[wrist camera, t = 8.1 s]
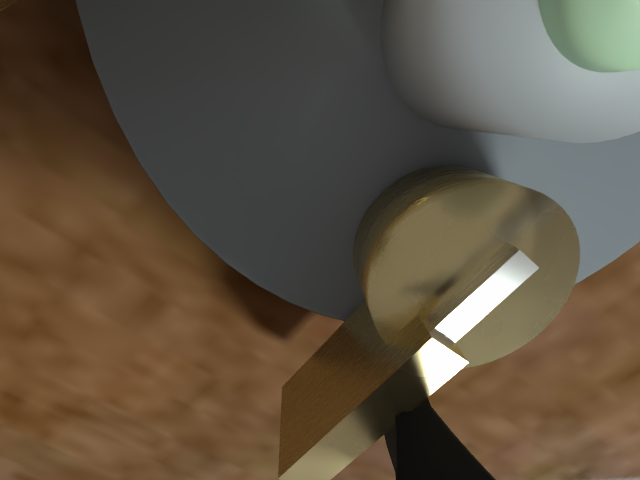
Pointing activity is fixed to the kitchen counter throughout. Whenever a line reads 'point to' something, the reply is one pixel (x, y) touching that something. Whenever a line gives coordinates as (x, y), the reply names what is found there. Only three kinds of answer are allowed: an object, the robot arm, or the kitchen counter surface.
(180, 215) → the plate
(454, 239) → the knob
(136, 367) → the kitchen counter surface
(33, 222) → the kitchen counter surface
